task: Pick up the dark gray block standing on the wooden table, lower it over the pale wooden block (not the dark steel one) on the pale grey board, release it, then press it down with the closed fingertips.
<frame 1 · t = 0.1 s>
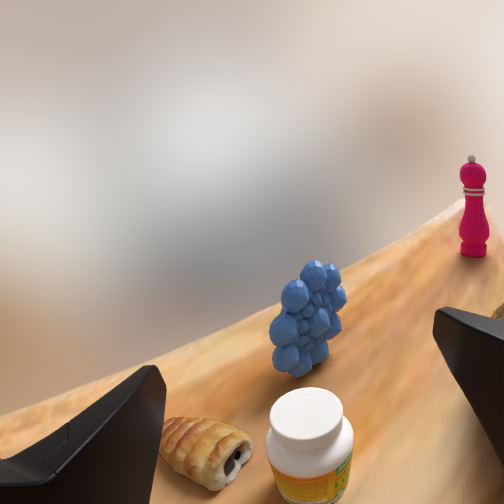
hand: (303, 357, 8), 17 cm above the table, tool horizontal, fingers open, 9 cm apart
grapes: (309, 361, 31), on the table
supplement bottle: (313, 483, 16), on the table
pastry: (206, 458, 21), on the table
pepper mill: (473, 252, 46), on the table
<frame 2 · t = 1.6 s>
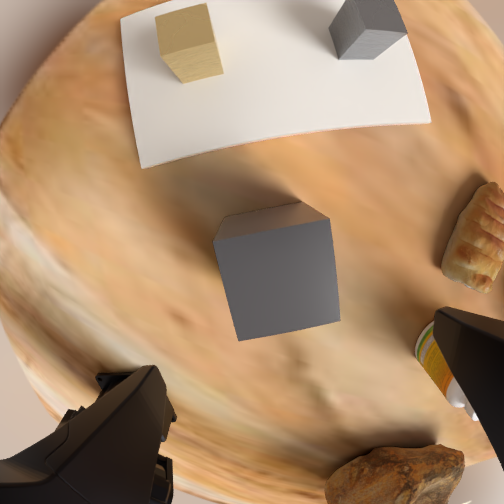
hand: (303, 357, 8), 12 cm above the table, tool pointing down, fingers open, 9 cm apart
rough brown rock: (397, 460, 29), on the table
board: (276, 53, 16), on the table
supplement bottle: (435, 338, 22), on the table
dark gray block: (271, 246, 19), on the table
pale wooden block: (199, 61, 15), resting on board
pastry: (468, 238, 20), on the table
steel post: (351, 43, 14), resting on board
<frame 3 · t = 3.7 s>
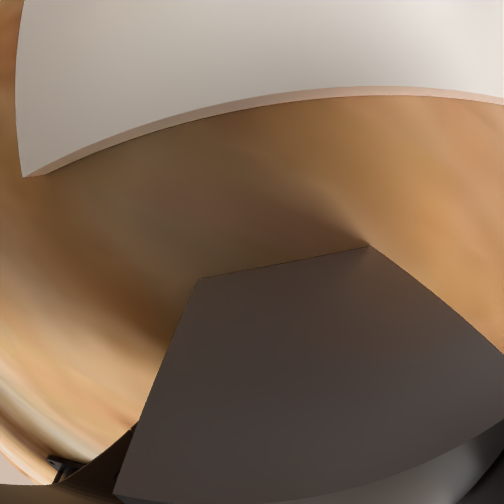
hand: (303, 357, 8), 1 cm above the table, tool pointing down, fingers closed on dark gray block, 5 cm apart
dark gray block: (298, 337, 9), on the table, touching gripper
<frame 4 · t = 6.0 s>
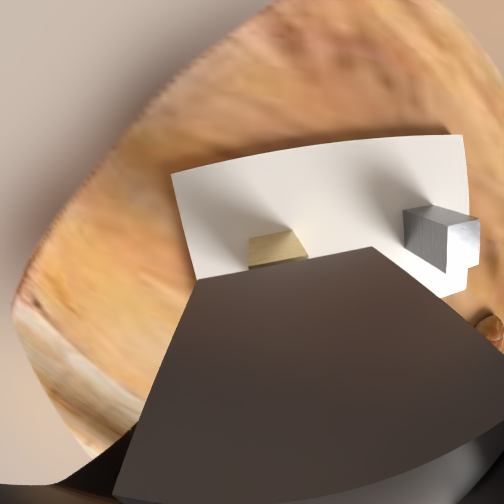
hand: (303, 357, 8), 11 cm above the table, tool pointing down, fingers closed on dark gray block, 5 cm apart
board: (347, 235, 18), on the table
dark gray block: (298, 338, 9), point 10 cm above the table, touching gripper
pale wooden block: (274, 254, 17), resting on board
pastry: (464, 356, 22), on the table
steel post: (419, 226, 17), resting on board
when the fingers open (4 cm above the table, at t = 8.5 s): dark gray block drops 1 cm, resting on board.
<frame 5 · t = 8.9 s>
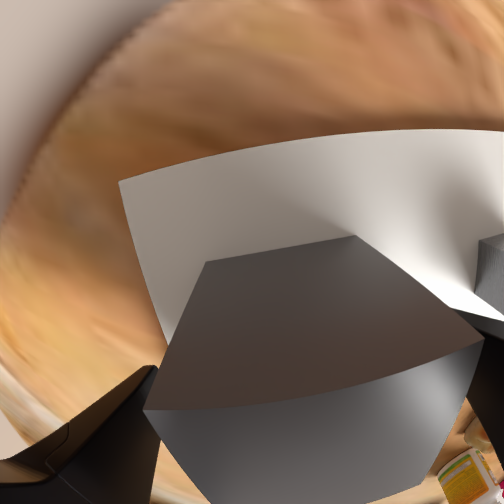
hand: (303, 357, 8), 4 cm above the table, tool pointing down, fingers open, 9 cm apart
board: (400, 276, 11), on the table
supplement bottle: (456, 460, 18), on the table
dark gray block: (292, 315, 10), point 1 cm above the table, touching board
pastry: (496, 399, 15), on the table
steel post: (493, 262, 10), resting on board
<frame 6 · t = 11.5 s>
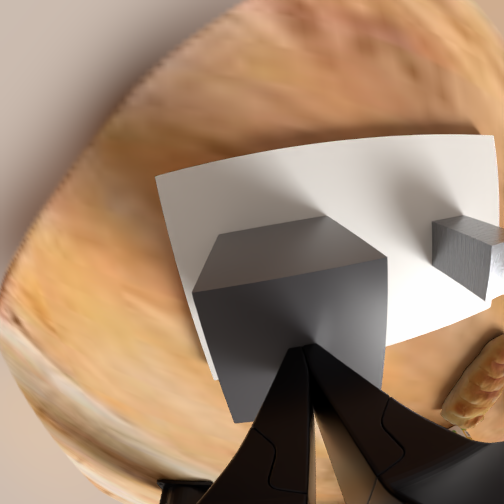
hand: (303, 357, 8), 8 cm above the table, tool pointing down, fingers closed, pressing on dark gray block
board: (367, 250, 15), on the table
dark gray block: (281, 275, 14), point 1 cm above the table, touching board, gripper
pastry: (471, 377, 19), on the table
steel post: (448, 240, 14), resting on board
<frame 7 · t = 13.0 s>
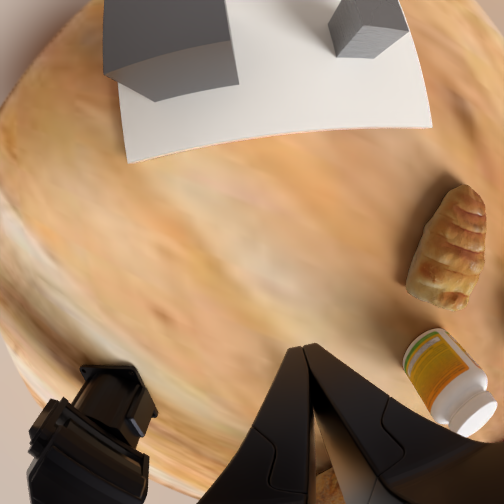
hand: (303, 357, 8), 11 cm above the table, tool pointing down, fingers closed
rough brown rock: (381, 468, 29), on the table
board: (272, 49, 15), on the table
supplement bottle: (424, 350, 22), on the table
dark gray block: (191, 55, 14), point 1 cm above the table, touching board
pastry: (440, 248, 19), on the table
steel post: (351, 40, 14), resting on board
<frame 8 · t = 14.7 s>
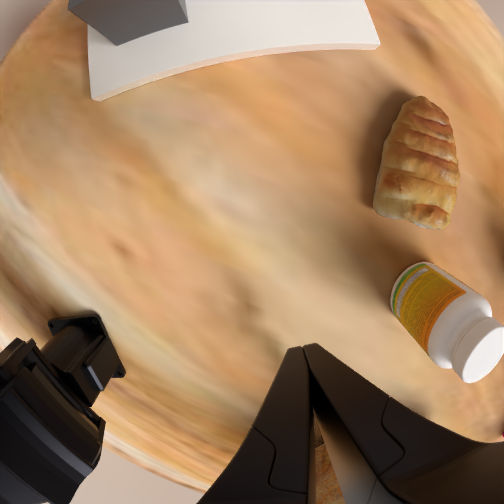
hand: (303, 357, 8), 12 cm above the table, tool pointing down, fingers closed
rough brown rock: (383, 447, 27), on the table
supplement bottle: (415, 290, 21), on the table
dark gray block: (148, 7, 13), point 1 cm above the table, touching board
pastry: (408, 169, 18), on the table
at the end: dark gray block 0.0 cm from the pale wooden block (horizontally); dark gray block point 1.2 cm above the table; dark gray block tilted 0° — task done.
